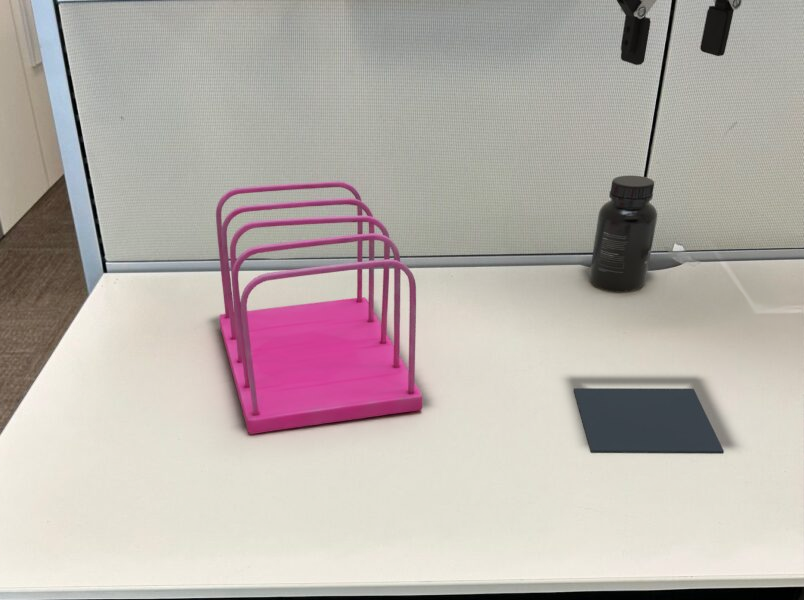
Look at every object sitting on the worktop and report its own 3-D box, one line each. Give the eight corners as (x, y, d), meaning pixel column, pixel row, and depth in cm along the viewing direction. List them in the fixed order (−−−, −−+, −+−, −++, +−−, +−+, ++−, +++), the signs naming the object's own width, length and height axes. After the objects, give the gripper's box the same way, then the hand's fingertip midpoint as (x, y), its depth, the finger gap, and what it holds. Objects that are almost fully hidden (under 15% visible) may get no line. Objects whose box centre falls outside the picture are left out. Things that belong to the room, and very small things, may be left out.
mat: (693, 390, 94) (693, 388, 94) (723, 452, 85) (723, 451, 84) (573, 390, 94) (573, 388, 94) (590, 452, 85) (591, 450, 85)
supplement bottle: (656, 287, 114) (676, 185, 106) (608, 297, 112) (625, 193, 104) (624, 268, 118) (641, 169, 111) (578, 277, 117) (591, 176, 109)
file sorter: (365, 311, 110) (363, 172, 100) (423, 412, 91) (427, 253, 81) (220, 328, 107) (202, 186, 97) (248, 436, 89) (230, 274, 79)
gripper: (654, -154, 79) (620, 73, 90) (817, -161, 83) (765, 57, 94) (606, -156, 84) (579, 58, 95) (761, -162, 88) (718, 44, 100)
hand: (672, 57), depth 95 cm, fingers open, 9 cm apart
